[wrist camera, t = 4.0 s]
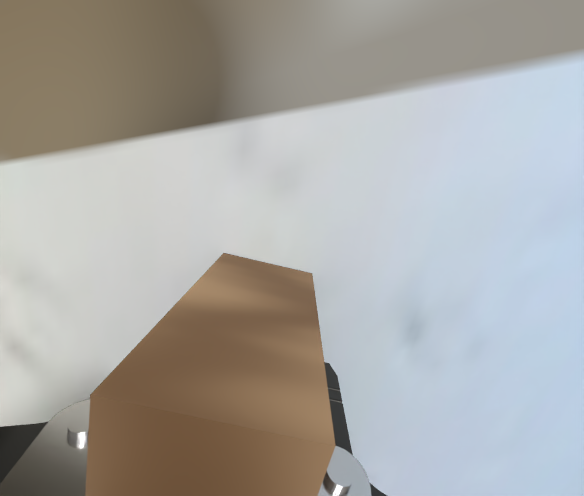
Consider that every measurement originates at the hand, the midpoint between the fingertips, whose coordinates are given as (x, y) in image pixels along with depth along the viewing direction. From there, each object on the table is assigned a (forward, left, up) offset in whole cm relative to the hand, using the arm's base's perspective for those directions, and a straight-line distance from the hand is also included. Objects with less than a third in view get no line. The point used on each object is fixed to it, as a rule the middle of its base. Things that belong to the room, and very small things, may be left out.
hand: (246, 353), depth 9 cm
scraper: (0, 0, -1) cm, 1 cm away
